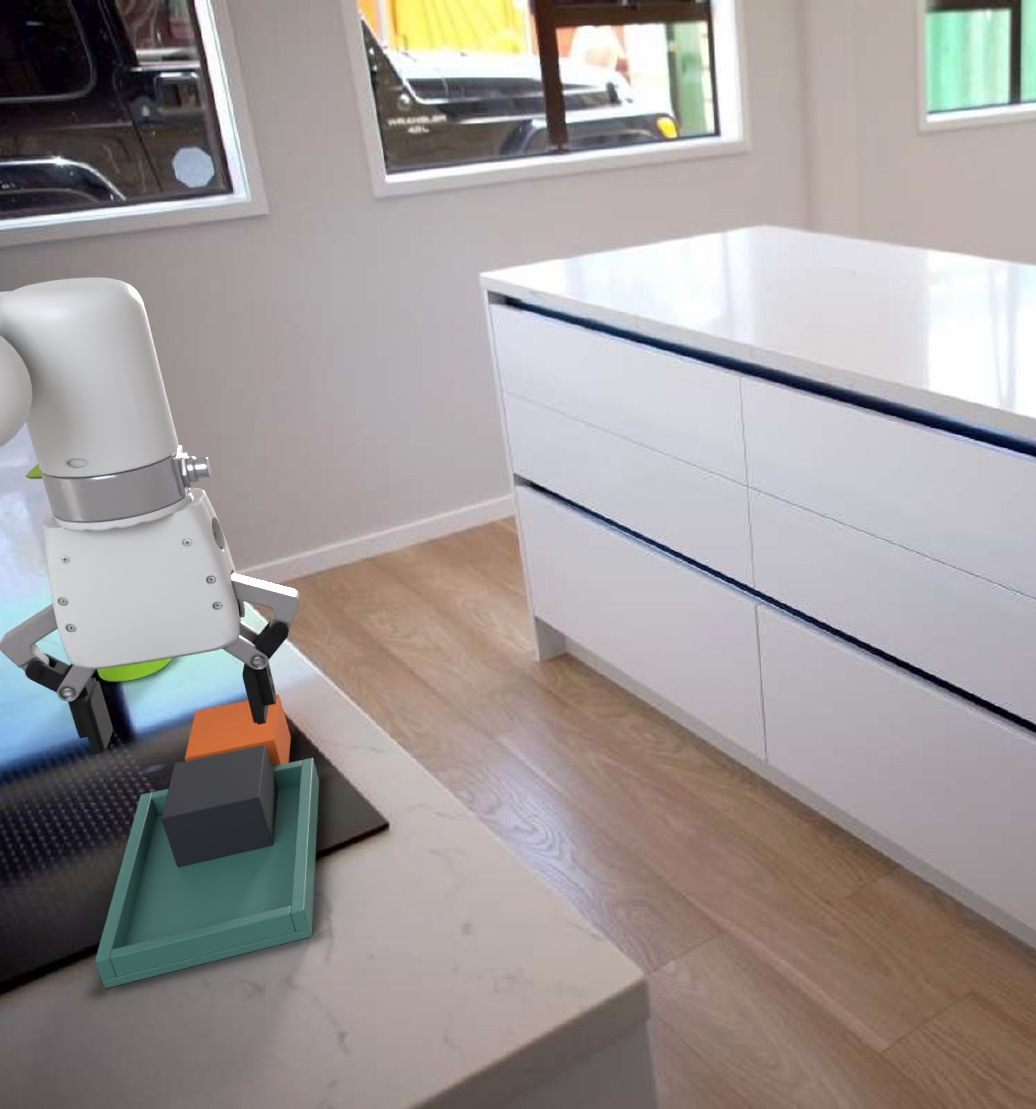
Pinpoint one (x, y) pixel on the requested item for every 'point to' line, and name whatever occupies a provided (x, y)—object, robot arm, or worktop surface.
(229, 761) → the dark grey block
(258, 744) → the orange block
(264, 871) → the tray
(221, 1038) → the worktop surface
